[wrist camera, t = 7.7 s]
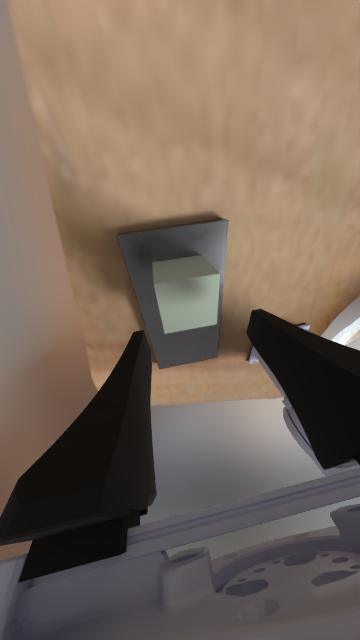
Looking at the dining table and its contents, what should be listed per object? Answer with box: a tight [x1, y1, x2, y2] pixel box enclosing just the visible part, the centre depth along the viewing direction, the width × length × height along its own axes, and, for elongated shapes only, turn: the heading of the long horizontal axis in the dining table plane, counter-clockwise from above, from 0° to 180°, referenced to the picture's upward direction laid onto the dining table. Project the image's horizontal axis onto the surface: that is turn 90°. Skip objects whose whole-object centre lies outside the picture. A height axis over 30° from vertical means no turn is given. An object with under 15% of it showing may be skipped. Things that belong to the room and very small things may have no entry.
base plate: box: [117, 219, 229, 369], centre depth 19 cm, size 10×20×4 cm, turn 6°
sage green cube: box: [152, 255, 220, 334], centre depth 15 cm, size 5×5×5 cm
